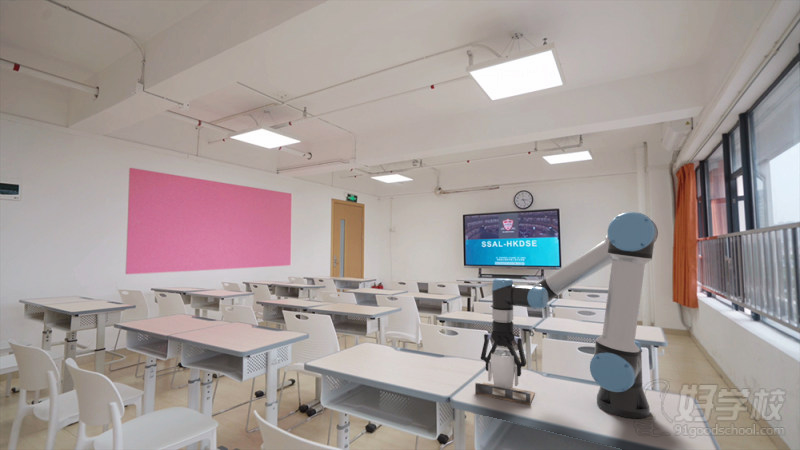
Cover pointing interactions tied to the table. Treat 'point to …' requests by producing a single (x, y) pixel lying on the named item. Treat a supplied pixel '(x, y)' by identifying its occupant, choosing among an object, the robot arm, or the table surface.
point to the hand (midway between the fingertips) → (503, 382)
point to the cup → (503, 368)
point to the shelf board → (504, 393)
